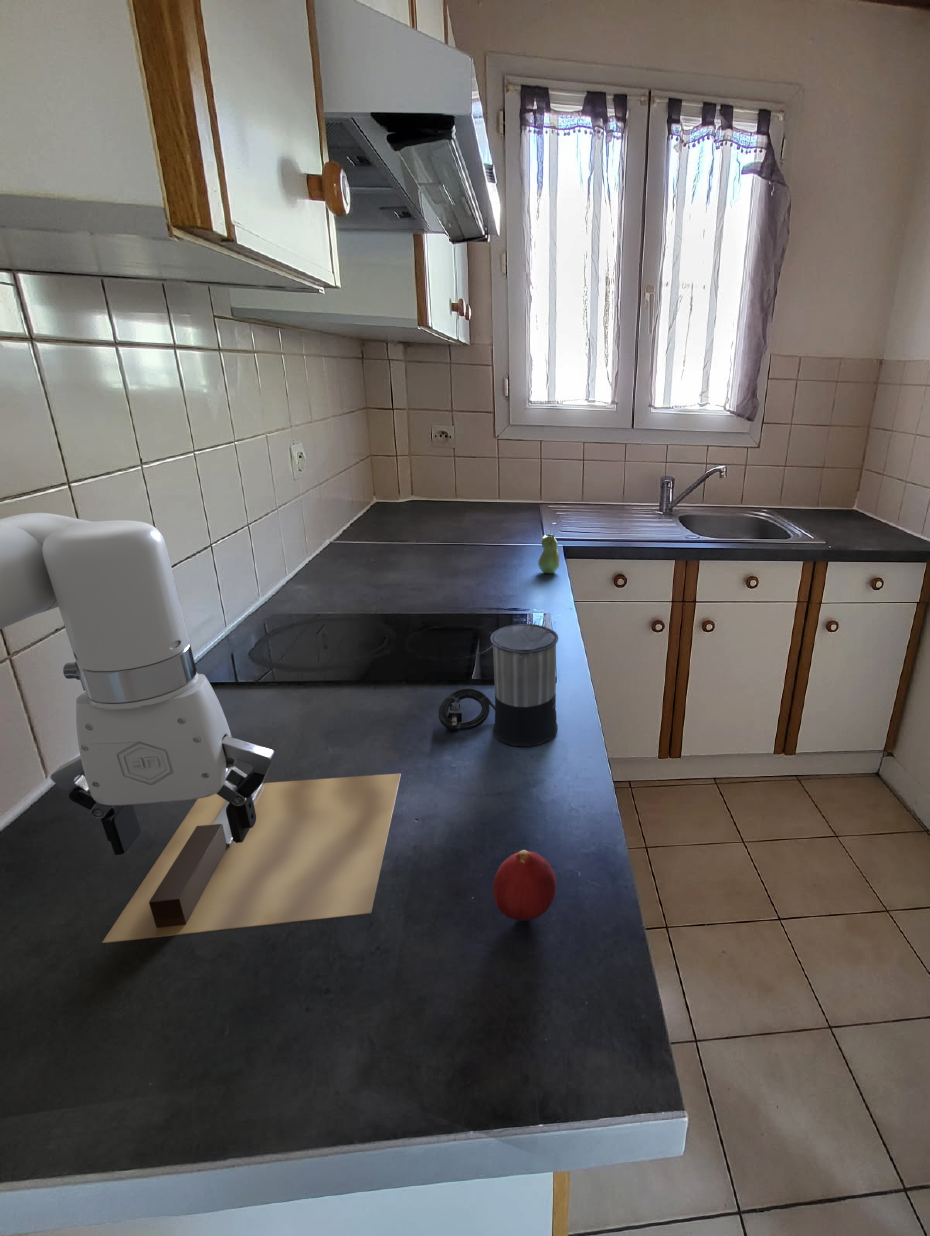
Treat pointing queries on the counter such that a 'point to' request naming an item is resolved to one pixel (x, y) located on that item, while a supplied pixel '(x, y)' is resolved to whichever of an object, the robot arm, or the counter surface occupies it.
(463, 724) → the milk frother
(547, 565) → the pear
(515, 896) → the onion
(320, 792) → the chopping board
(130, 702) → the robot arm
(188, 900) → the knife
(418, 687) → the counter surface
